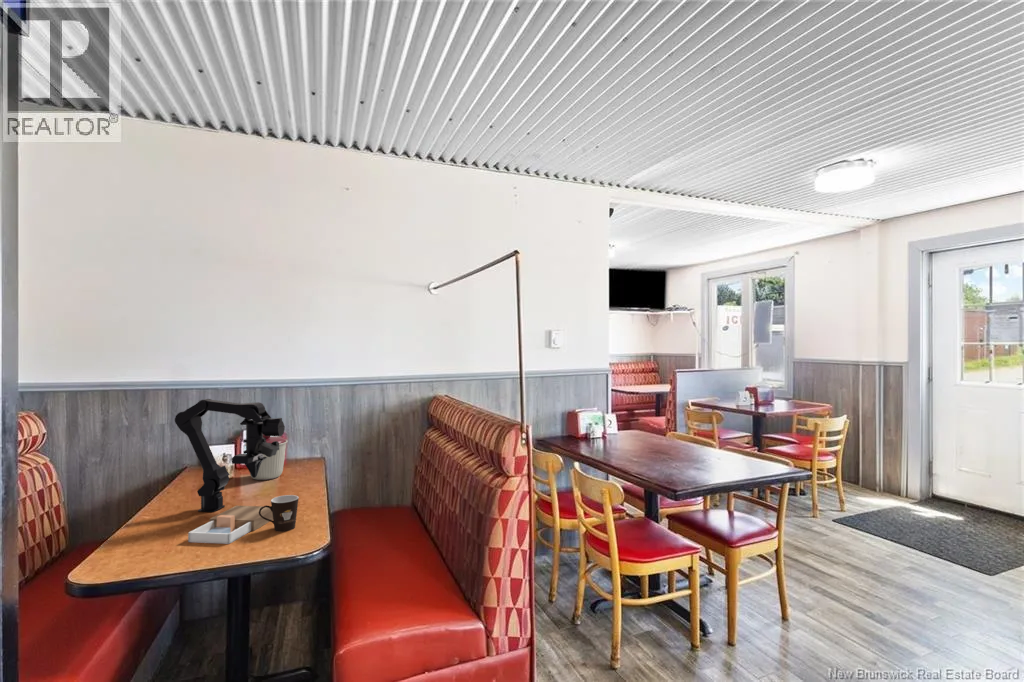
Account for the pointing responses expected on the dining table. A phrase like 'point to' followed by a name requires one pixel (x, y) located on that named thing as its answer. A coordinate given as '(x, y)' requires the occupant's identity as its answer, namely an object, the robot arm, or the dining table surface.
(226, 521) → the terracotta tile
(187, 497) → the dining table surface
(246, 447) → the robot arm
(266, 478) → the canister
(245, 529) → the tray
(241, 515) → the walnut board
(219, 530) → the slate tile
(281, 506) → the coffee mug
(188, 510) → the dining table surface
